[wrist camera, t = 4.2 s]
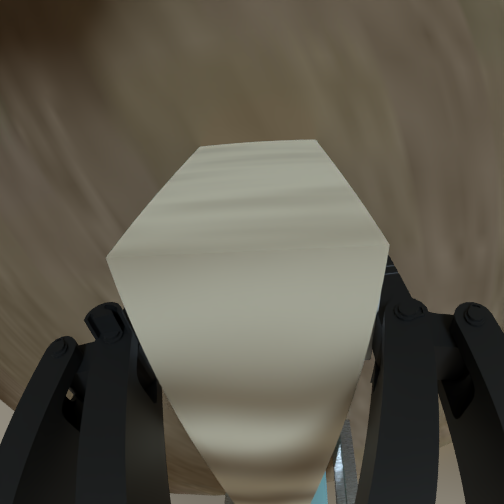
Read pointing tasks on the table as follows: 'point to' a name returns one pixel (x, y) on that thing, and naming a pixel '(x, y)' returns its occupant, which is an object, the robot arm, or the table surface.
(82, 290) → the table surface
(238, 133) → the table surface
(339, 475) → the grey open box
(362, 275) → the bar
